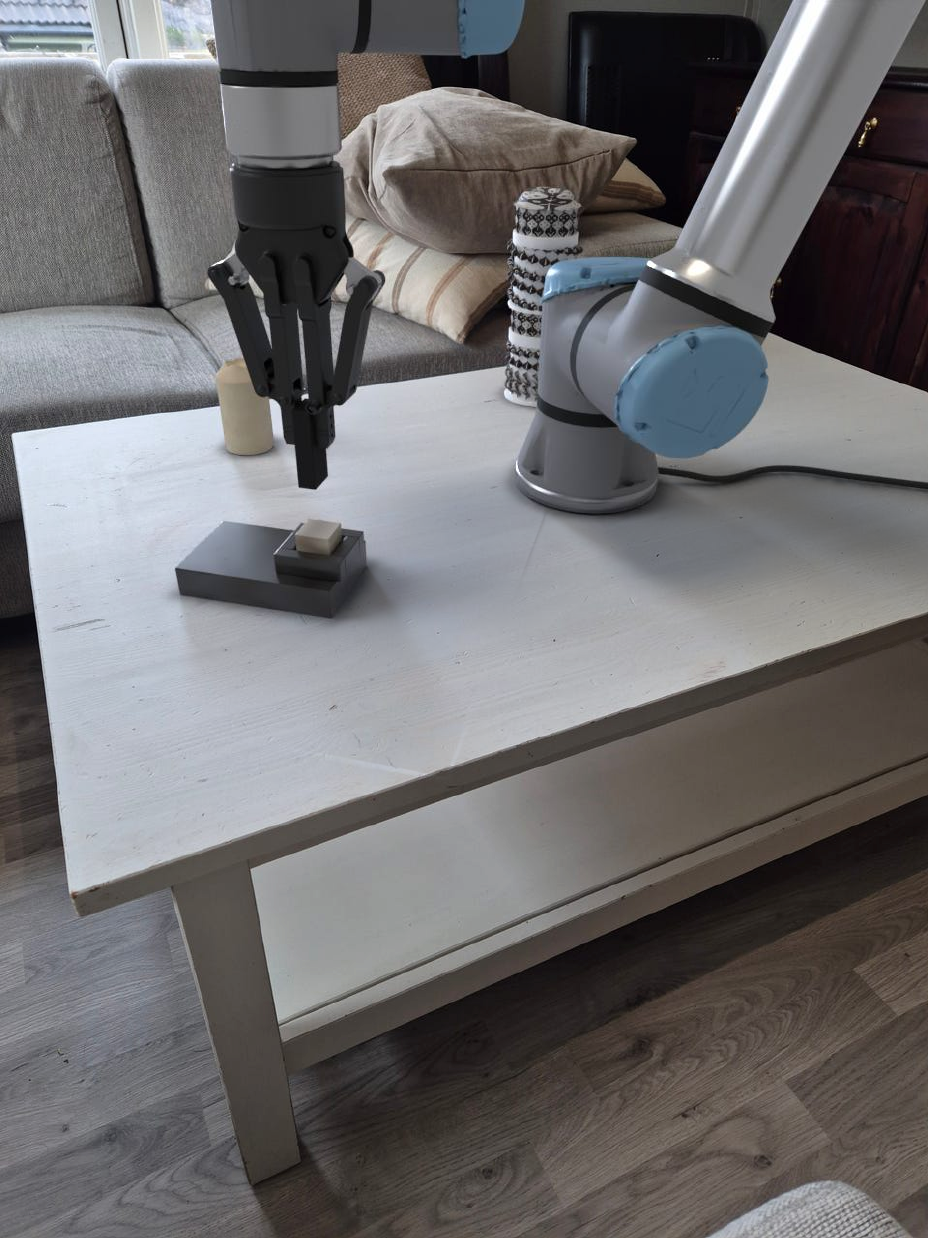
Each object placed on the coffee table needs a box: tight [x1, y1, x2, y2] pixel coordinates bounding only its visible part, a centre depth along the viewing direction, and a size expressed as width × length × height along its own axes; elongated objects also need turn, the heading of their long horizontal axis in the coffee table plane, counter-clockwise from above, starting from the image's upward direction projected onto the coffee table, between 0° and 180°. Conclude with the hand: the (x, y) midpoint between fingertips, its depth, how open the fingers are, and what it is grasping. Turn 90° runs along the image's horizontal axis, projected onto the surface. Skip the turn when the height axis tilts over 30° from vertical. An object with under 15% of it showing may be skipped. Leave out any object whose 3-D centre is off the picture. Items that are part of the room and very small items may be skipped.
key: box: [295, 518, 342, 556], centre depth 75 cm, size 3×3×2 cm
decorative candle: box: [503, 186, 584, 408], centre depth 112 cm, size 9×9×25 cm
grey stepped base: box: [174, 520, 368, 619], centre depth 78 cm, size 14×9×4 cm, turn 76°
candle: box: [215, 357, 275, 456], centre depth 100 cm, size 6×6×10 cm
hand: (313, 481), depth 73 cm, fingers closed
